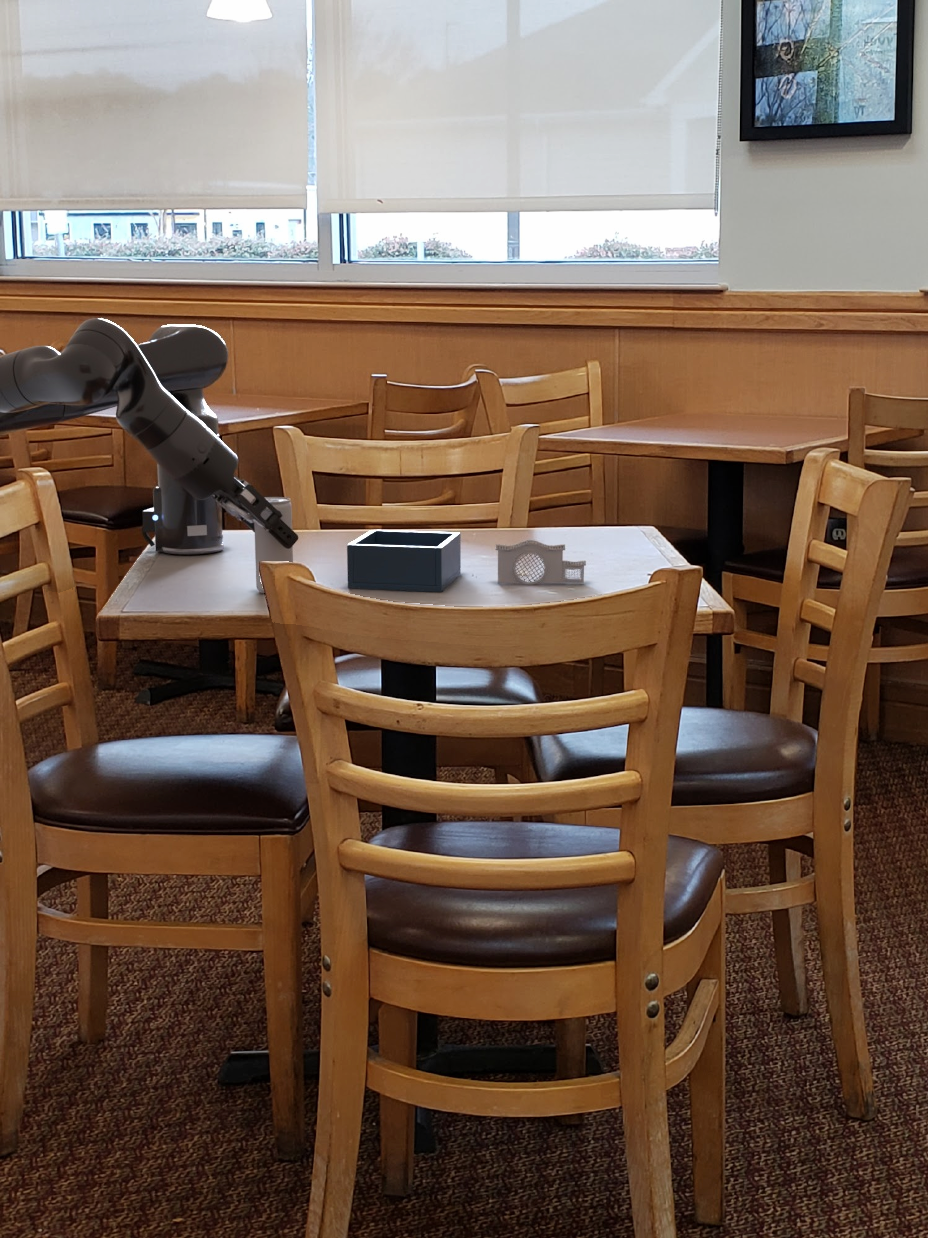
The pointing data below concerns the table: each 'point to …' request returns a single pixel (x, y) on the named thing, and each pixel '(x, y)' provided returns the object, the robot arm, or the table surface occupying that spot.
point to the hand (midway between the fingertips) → (280, 538)
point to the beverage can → (272, 538)
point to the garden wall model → (547, 553)
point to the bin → (404, 560)
